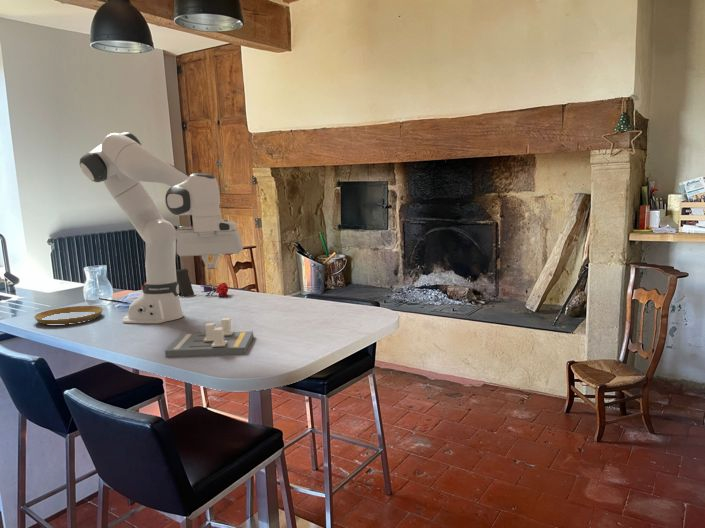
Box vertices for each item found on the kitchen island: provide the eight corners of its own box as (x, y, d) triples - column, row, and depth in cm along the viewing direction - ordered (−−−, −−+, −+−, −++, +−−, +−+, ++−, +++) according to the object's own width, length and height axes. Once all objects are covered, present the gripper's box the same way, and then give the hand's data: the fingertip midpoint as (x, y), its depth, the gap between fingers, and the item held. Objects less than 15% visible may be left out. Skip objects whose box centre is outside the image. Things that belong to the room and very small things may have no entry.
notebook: (96, 300, 252) (95, 296, 251) (128, 293, 266) (127, 289, 266) (132, 306, 237) (132, 301, 237) (164, 298, 251) (164, 294, 251)
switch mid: (203, 341, 171) (202, 326, 170) (206, 337, 175) (205, 322, 174) (216, 340, 171) (215, 325, 170) (218, 337, 175) (217, 322, 174)
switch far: (219, 335, 177) (218, 320, 176) (221, 331, 181) (220, 317, 180) (231, 335, 177) (230, 320, 176) (233, 331, 181) (233, 316, 180)
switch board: (165, 357, 164) (164, 350, 164) (181, 339, 182) (181, 333, 181) (245, 353, 165) (244, 347, 165) (253, 337, 183) (252, 331, 182)
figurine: (205, 292, 258) (234, 293, 255) (197, 299, 250) (227, 300, 247) (203, 279, 256) (232, 280, 252) (195, 286, 248) (225, 287, 245)
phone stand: (194, 294, 257) (192, 269, 255) (183, 296, 252) (181, 271, 250) (181, 292, 262) (179, 268, 260) (171, 294, 257) (169, 269, 255)
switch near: (211, 346, 165) (210, 330, 164) (214, 342, 169) (213, 327, 168) (224, 346, 165) (223, 330, 164) (227, 342, 169) (226, 326, 169)
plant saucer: (82, 310, 231) (81, 302, 230) (116, 316, 218) (115, 308, 217) (22, 323, 211) (21, 315, 210) (56, 331, 198) (55, 322, 197)
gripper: (171, 227, 166) (175, 272, 168) (237, 224, 166) (241, 268, 168) (177, 226, 172) (181, 268, 174) (241, 222, 172) (245, 265, 174)
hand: (211, 268), depth 171 cm, fingers closed
